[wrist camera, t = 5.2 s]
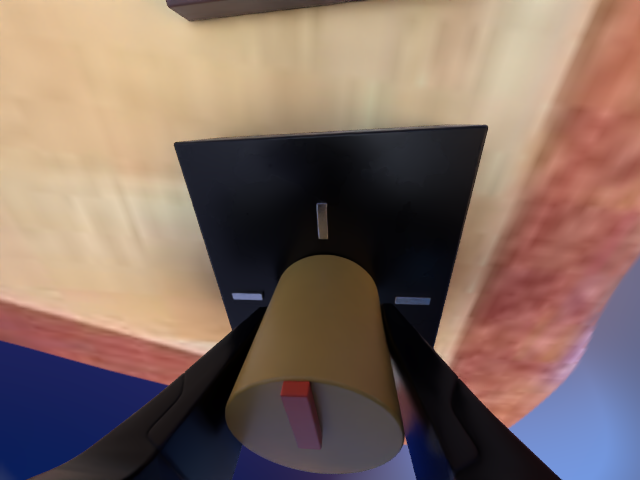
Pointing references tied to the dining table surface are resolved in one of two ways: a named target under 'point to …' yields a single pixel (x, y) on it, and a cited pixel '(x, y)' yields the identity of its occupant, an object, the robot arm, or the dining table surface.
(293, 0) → the button block
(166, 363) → the dining table surface
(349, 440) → the lock knob
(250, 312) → the black dial base
